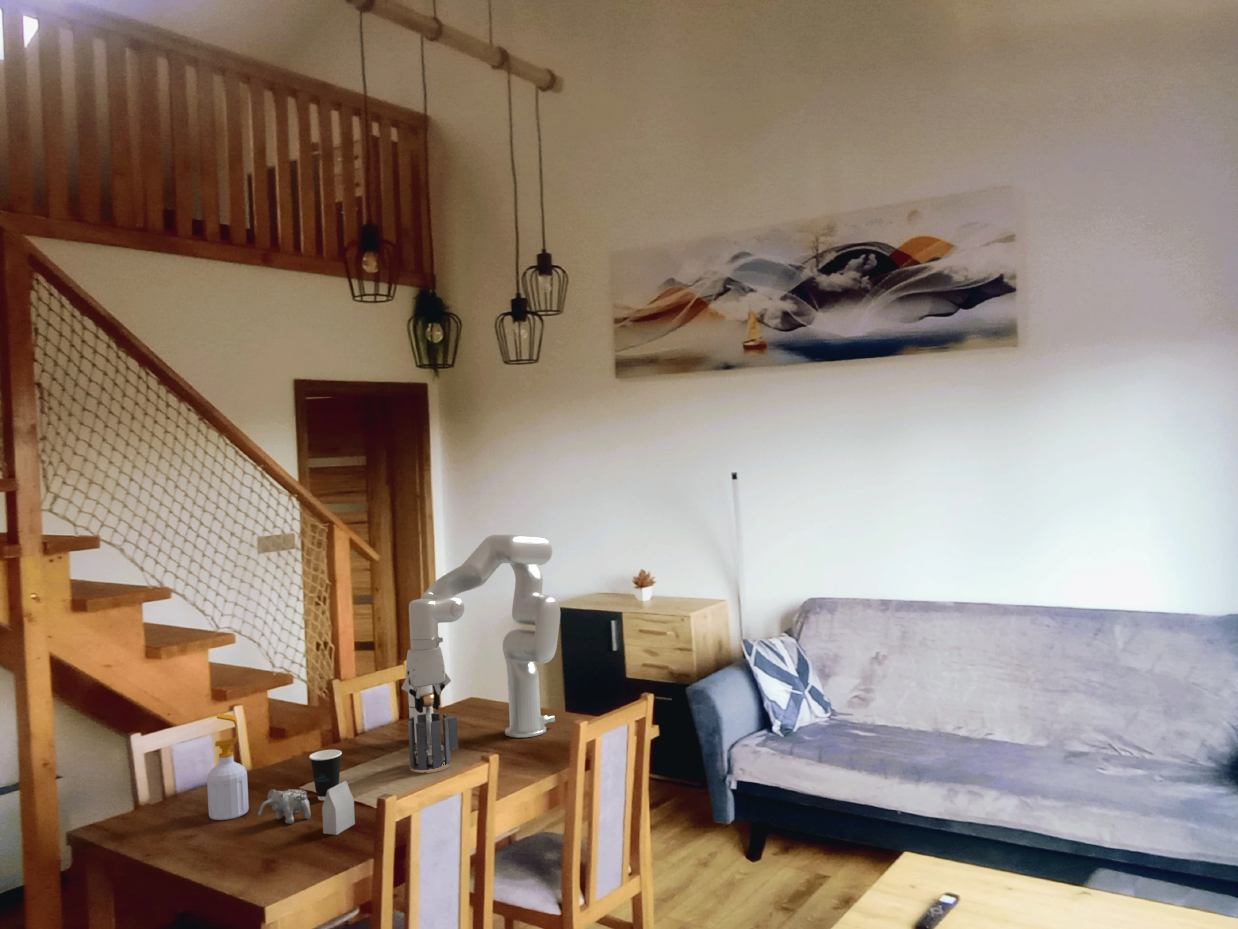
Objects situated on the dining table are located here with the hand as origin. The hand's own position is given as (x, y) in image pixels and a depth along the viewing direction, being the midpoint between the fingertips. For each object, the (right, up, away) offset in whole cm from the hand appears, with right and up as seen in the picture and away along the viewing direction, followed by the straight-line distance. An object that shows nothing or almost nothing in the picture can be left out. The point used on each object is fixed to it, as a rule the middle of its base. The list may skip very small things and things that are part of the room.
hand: (427, 709), depth 268 cm
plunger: (+1, -12, 0) cm, 12 cm away
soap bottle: (-43, -18, -30) cm, 55 cm away
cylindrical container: (-7, -16, +27) cm, 32 cm away
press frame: (+2, -16, +1) cm, 16 cm away
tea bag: (-12, -17, -44) cm, 48 cm away
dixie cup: (-21, -17, -21) cm, 35 cm away
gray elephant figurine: (-26, -17, -37) cm, 49 cm away
